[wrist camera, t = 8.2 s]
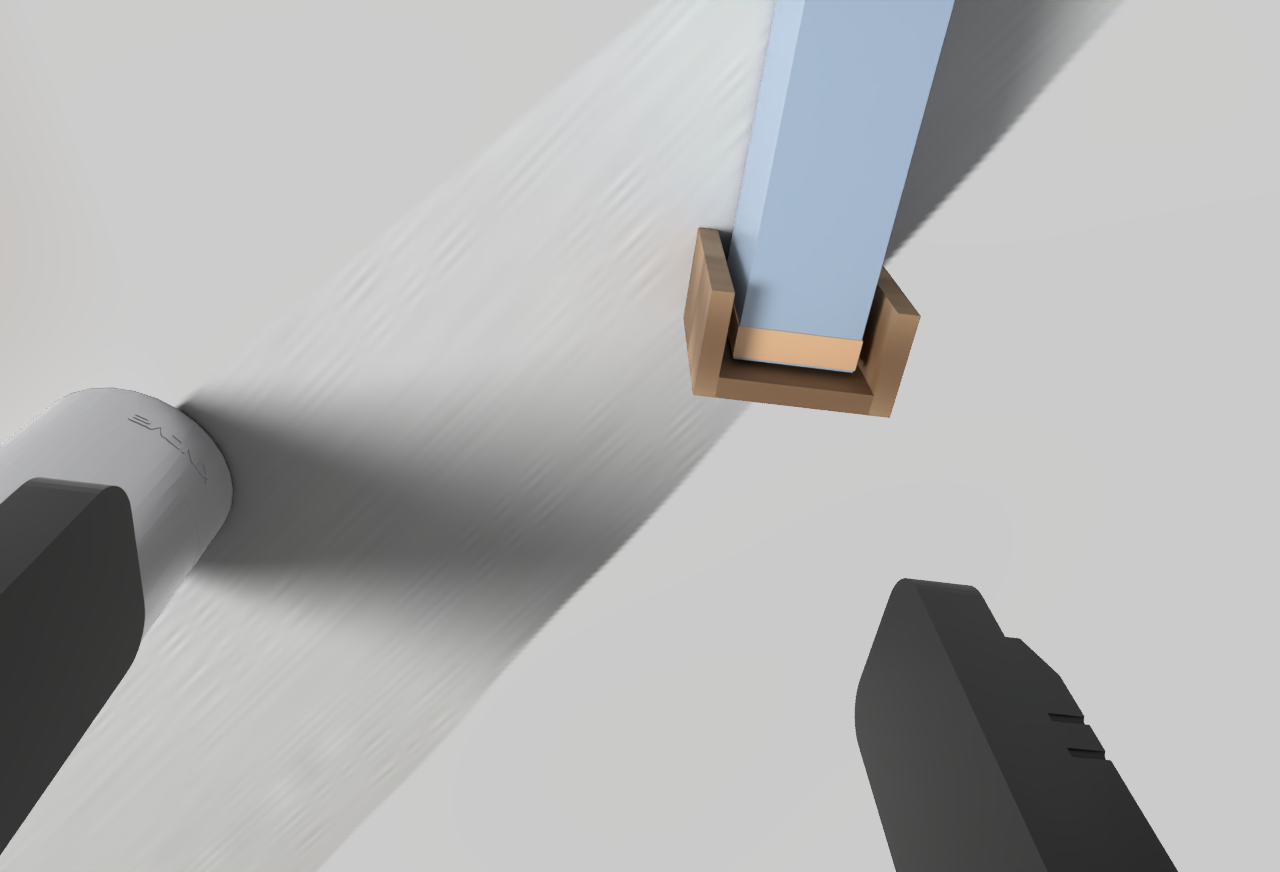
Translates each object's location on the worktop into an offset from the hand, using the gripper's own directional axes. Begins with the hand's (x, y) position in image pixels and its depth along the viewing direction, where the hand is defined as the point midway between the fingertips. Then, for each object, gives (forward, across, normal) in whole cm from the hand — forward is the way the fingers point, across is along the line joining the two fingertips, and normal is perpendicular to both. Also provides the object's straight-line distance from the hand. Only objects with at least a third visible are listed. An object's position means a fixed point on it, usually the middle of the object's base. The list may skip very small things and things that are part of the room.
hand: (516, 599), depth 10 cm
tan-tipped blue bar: (+29, -8, -2) cm, 30 cm away
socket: (+29, -8, +5) cm, 30 cm away
